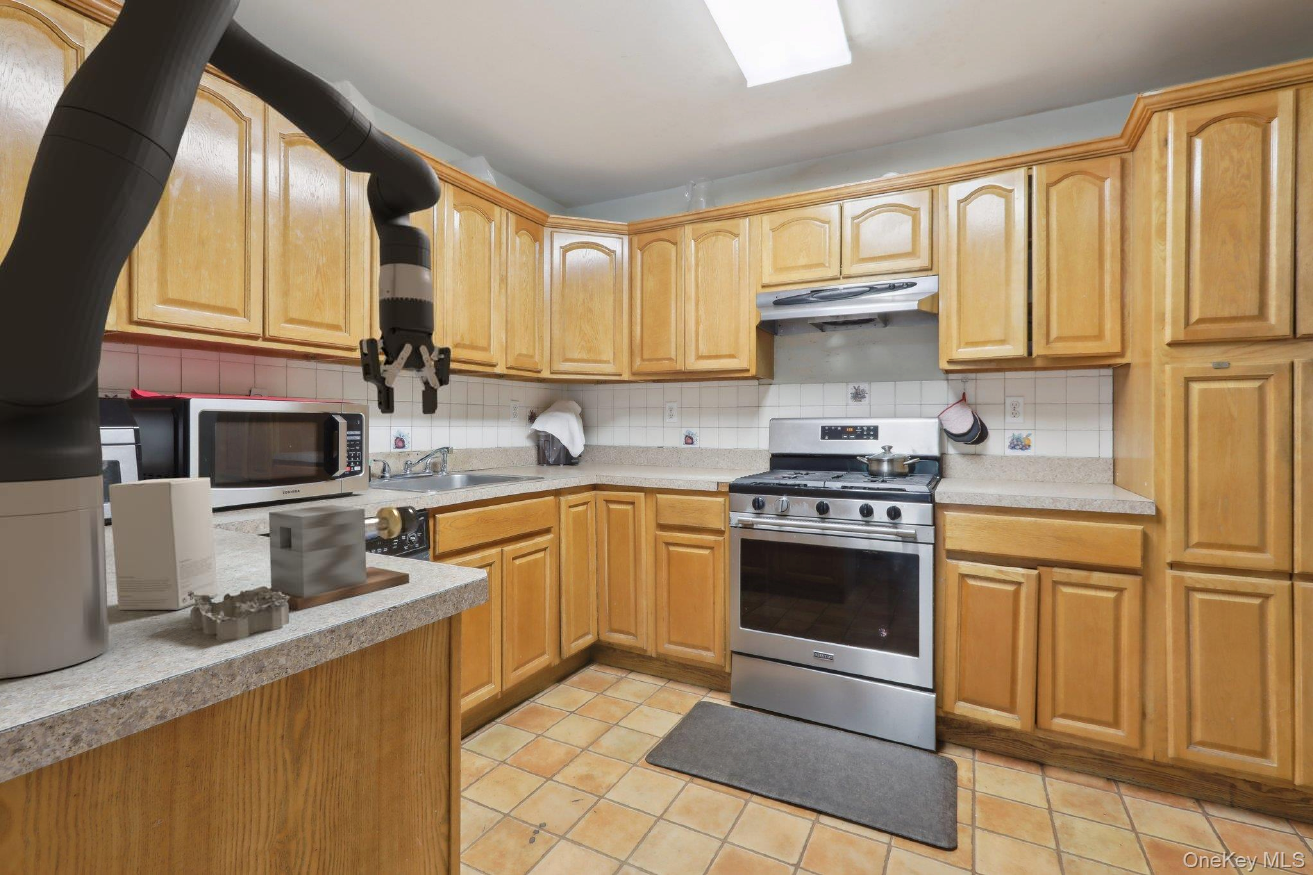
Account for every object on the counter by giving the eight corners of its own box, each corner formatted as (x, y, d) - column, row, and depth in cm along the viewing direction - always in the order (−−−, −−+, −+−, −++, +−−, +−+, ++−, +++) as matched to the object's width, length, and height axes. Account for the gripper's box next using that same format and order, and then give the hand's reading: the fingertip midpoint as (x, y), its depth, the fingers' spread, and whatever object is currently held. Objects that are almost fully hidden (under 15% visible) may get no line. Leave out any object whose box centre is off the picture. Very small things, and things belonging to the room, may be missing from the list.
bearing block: (297, 610, 74) (295, 518, 73) (261, 599, 79) (258, 513, 78) (409, 582, 86) (407, 503, 86) (371, 574, 91) (369, 499, 91)
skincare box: (219, 597, 80) (215, 476, 80) (175, 612, 74) (170, 481, 73) (160, 596, 81) (156, 477, 81) (111, 611, 75) (106, 482, 74)
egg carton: (184, 627, 69) (183, 591, 69) (260, 611, 75) (259, 577, 75) (217, 647, 62) (216, 606, 62) (298, 627, 68) (296, 590, 68)
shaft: (327, 552, 79) (326, 517, 79) (309, 548, 81) (308, 515, 81) (420, 535, 90) (419, 505, 90) (401, 532, 93) (401, 503, 93)
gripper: (376, 288, 83) (379, 412, 84) (462, 305, 95) (465, 413, 96) (345, 295, 87) (347, 414, 88) (431, 310, 99) (433, 414, 100)
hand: (409, 413), depth 92 cm, fingers open, 6 cm apart
